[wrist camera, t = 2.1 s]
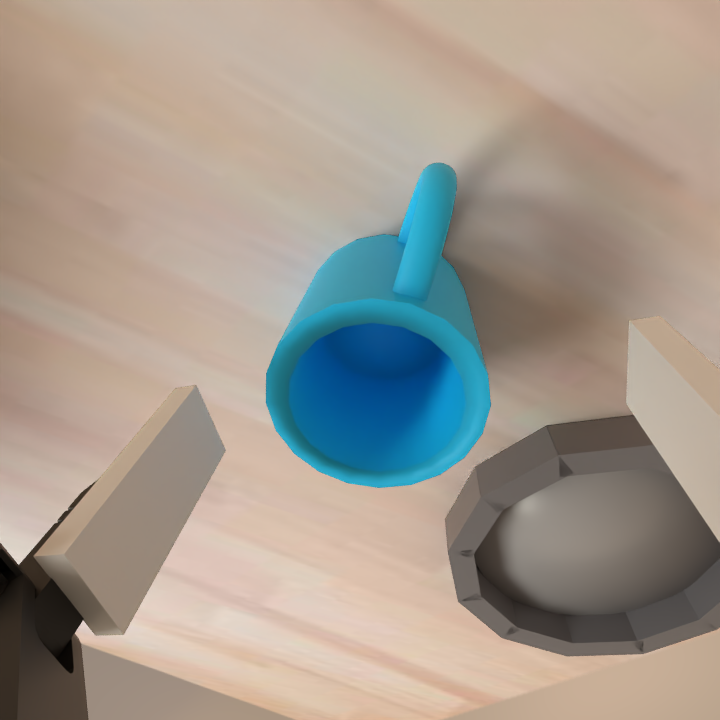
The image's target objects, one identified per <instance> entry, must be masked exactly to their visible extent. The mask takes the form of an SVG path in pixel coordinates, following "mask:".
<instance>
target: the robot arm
mask: <svg viewBox="0 0 720 720" xmlns="http://www.w3.org/2000/svg"><path fill="white" fill-rule="evenodd" d="M626 404H627V406H628V407H629V409H630V410H631V412H632V413H633V415H634V416H635V418H636V419H637V421H638V422H639V424H640V425H641V427H642V428H643V430H644V431H645V433H646V434H647V436H648V437H649V438H650V440H651V441H652V443H653V444H654V446H655V447H656V449H657V450H658V452H659V453H660V455H661V456H662V458H663V459H664V461H665V462H666V464H667V465H668V467H669V468H670V470H671V471H672V473H673V474H674V476H675V477H676V479H677V480H678V482H679V483H680V484H681V486H682V487H683V489H684V490H685V492H686V493H687V495H688V496H689V498H690V499H691V501H692V502H693V504H694V505H695V507H696V508H697V510H698V511H699V513H700V514H701V516H702V517H703V519H704V520H705V522H706V523H707V525H708V526H709V528H710V529H711V531H712V532H713V533H714V535H715V536H716V538H717V539H718V541H719V542H720V370H719V369H718V368H717V367H716V366H715V365H714V364H712V363H711V362H710V361H709V360H708V359H707V358H706V357H705V356H704V355H703V354H701V353H700V352H699V351H698V350H697V349H696V348H695V347H694V346H693V345H692V344H690V343H689V342H688V341H687V340H686V339H685V338H684V337H683V336H682V335H681V334H679V333H678V332H677V331H676V330H675V329H674V328H673V327H672V326H671V325H670V324H668V323H667V322H666V321H665V320H664V319H663V318H662V317H661V316H656V317H649V318H642V319H636V320H629V338H628V367H627V395H626ZM225 451H226V450H225V448H224V445H223V443H222V441H221V439H220V436H219V434H218V432H217V430H216V428H215V425H214V423H213V421H212V419H211V417H210V414H209V412H208V410H207V408H206V405H205V403H204V401H203V399H202V397H201V394H200V392H199V390H198V388H197V386H196V385H193V386H187V387H180V388H175V389H174V391H173V392H172V393H171V394H170V395H169V397H168V398H167V399H166V400H165V401H164V402H163V404H162V405H161V406H160V407H159V408H158V410H157V411H156V412H155V413H154V414H153V415H152V417H151V418H150V419H149V420H148V421H147V423H146V424H145V425H144V426H143V427H142V428H141V430H140V431H139V432H138V433H137V434H136V436H135V437H134V438H133V439H132V440H131V441H130V443H129V444H128V445H127V446H126V447H125V449H124V450H123V451H122V452H121V453H120V454H119V456H118V457H117V458H116V459H115V460H114V462H113V463H112V464H111V465H110V466H109V467H108V469H107V470H106V471H105V472H104V473H103V475H102V476H101V477H100V478H99V479H98V480H97V481H96V482H94V483H93V484H92V485H90V486H89V487H88V488H87V489H85V490H84V491H83V492H82V493H81V494H80V495H79V496H78V497H77V498H76V499H75V501H74V502H73V503H72V504H71V505H70V506H69V508H68V511H65V512H64V513H63V515H62V516H61V517H60V518H59V519H58V523H55V524H54V525H53V526H52V527H51V528H50V530H49V531H48V532H47V533H46V534H45V535H44V537H43V538H42V539H41V540H40V541H39V542H38V544H37V545H36V546H35V547H34V548H33V549H32V551H31V552H30V553H29V554H28V555H27V556H26V558H25V559H24V560H23V561H22V562H21V563H20V564H19V565H18V564H17V563H16V561H15V560H14V559H13V558H12V557H11V555H10V554H9V553H8V552H7V550H6V549H5V548H4V547H3V546H2V544H1V543H0V720H88V711H87V700H86V690H85V679H84V669H83V658H82V648H81V643H80V641H79V638H78V637H77V636H76V635H75V632H76V630H77V629H78V627H79V626H80V624H81V622H82V621H83V620H84V622H85V623H86V624H87V625H88V627H89V628H90V629H91V630H92V632H93V633H94V634H95V635H96V636H99V635H124V633H125V631H126V630H127V628H128V626H129V624H130V622H131V621H132V619H133V617H134V615H135V613H136V612H137V610H138V608H139V606H140V604H141V603H142V601H143V599H144V597H145V595H146V594H147V592H148V590H149V588H150V586H151V585H152V583H153V581H154V579H155V577H156V575H157V574H158V572H159V570H160V568H161V566H162V565H163V563H164V561H165V559H166V557H167V556H168V554H169V552H170V550H171V548H172V547H173V545H174V543H175V541H176V539H177V538H178V536H179V534H180V532H181V530H182V529H183V527H184V525H185V523H186V521H187V520H188V518H189V516H190V514H191V512H192V510H193V509H194V507H195V505H196V503H197V501H198V500H199V498H200V496H201V494H202V492H203V491H204V489H205V487H206V485H207V483H208V482H209V480H210V478H211V476H212V474H213V473H214V471H215V469H216V467H217V465H218V464H219V462H220V460H221V458H222V456H223V454H224V453H225Z"/></svg>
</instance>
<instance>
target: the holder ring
mask: <svg viewBox="0 0 720 720" xmlns="http://www.w3.org/2000/svg"><path fill="white" fill-rule="evenodd" d="M445 522H446V535H447V547H448V555H449V560H450V564H451V569H452V574H453V579H454V584H455V589H456V593H457V598H458V602H459V603H461V604H462V605H463V606H464V607H465V608H467V609H468V610H469V611H470V612H471V613H473V614H474V615H475V616H476V617H477V618H478V619H480V620H481V621H482V622H483V623H484V624H486V625H487V626H488V627H489V628H490V629H492V630H493V631H494V632H495V633H496V634H498V635H499V636H500V637H501V638H504V639H507V640H511V641H514V642H518V643H521V644H525V645H529V646H532V647H536V648H539V649H543V650H546V651H550V652H554V653H557V654H561V655H564V656H594V655H626V654H644V653H648V652H651V651H654V650H657V649H660V648H663V647H666V646H669V645H672V644H675V643H678V642H681V641H684V640H687V639H690V638H693V637H696V636H699V635H702V634H705V633H708V632H711V631H714V630H717V629H718V628H719V627H720V542H719V541H718V539H717V538H716V536H715V535H714V533H713V532H712V531H711V529H710V528H709V526H708V525H707V523H706V522H705V520H704V519H703V517H702V516H701V514H700V513H699V511H698V510H697V508H696V507H695V505H694V504H693V502H692V501H691V499H690V498H689V496H688V495H687V493H686V492H685V490H684V489H683V487H682V486H681V484H680V483H679V482H678V480H677V479H676V477H675V476H674V474H673V473H672V471H671V470H670V468H669V467H668V465H667V464H666V462H665V461H664V459H663V458H662V456H661V455H660V453H659V452H658V450H657V449H656V447H655V446H654V444H653V443H652V441H651V440H650V438H649V437H648V436H647V434H646V433H645V431H644V430H643V428H642V427H641V425H640V424H639V422H638V421H637V419H636V418H635V416H634V415H633V416H624V417H616V418H608V419H599V420H591V421H583V422H575V423H566V424H558V425H550V426H545V427H544V428H542V429H540V430H538V431H537V432H535V433H533V434H531V435H530V436H528V437H526V438H524V439H523V440H521V441H519V442H518V443H516V444H514V445H512V446H511V447H509V448H507V449H505V450H504V451H502V452H500V453H498V454H497V455H495V456H493V457H491V458H490V459H488V460H486V461H485V462H483V463H481V464H479V465H478V466H476V467H475V469H474V470H473V472H472V474H471V476H470V477H469V479H468V481H467V482H466V484H465V486H464V488H463V489H462V491H461V493H460V495H459V496H458V498H457V500H456V502H455V503H454V505H453V507H452V508H451V510H450V512H449V514H448V515H447V517H446V519H445Z"/></svg>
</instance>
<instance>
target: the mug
mask: <svg viewBox="0 0 720 720" xmlns="http://www.w3.org/2000/svg"><path fill="white" fill-rule="evenodd" d="M456 190H457V177H456V173H455V172H454V170H453V169H452V168H451V167H450V166H448V165H446V164H444V163H433V164H431V165H429V166H427V167H426V168H425V169H424V170H423V171H422V173H421V175H420V178H419V180H418V182H417V185H416V187H415V190H414V193H413V195H412V198H411V201H410V204H409V207H408V210H407V212H406V215H405V218H404V221H403V224H402V227H401V230H400V234H399V236H393V235H386V234H383V235H377V236H372V237H367V238H361V239H357V240H355V241H353V242H351V243H350V244H348V245H346V246H344V247H342V248H341V249H339V250H337V251H335V252H334V253H333V254H332V255H331V256H330V258H329V259H328V260H327V261H326V262H325V263H324V264H323V265H322V266H321V267H320V269H319V270H318V271H317V273H316V275H315V277H314V279H313V281H312V282H311V284H310V286H309V288H308V290H307V292H306V294H305V295H304V297H303V299H302V301H301V303H300V305H299V307H298V308H297V310H296V312H295V314H294V316H293V318H292V320H291V321H290V323H289V325H288V327H287V329H286V331H285V333H284V335H283V336H282V338H281V340H280V342H279V344H278V346H277V348H276V351H275V353H274V356H273V358H272V361H271V363H270V365H269V368H268V370H267V373H266V404H267V407H268V410H269V412H270V415H271V418H272V421H273V423H274V426H275V429H276V431H277V432H278V433H279V435H280V436H281V437H282V439H283V440H284V441H285V442H286V444H287V445H288V446H289V448H290V449H291V450H292V451H293V453H294V454H296V455H297V456H298V457H300V458H301V459H302V460H304V461H305V462H306V463H308V464H309V465H311V466H312V467H313V468H315V469H316V470H317V471H319V472H321V473H324V474H326V475H329V476H331V477H334V478H336V479H339V480H341V481H344V482H346V483H350V484H357V485H364V486H370V487H377V488H382V487H394V486H405V485H412V484H415V483H418V482H421V481H423V480H426V479H429V478H432V477H435V476H438V475H440V474H442V473H443V472H444V471H446V470H447V469H449V468H450V467H452V466H453V465H454V464H456V463H457V462H459V461H460V460H462V459H463V458H464V457H465V456H466V455H467V454H468V452H469V451H470V450H471V448H472V447H473V446H474V444H475V443H476V442H477V440H478V439H479V438H480V436H481V435H482V434H483V430H484V427H485V423H486V420H487V417H488V413H489V410H490V407H491V401H490V391H489V380H488V373H487V369H486V366H485V362H484V358H483V355H482V351H481V347H480V344H479V340H478V337H477V333H476V329H475V326H474V322H473V318H472V315H471V311H470V308H469V304H468V300H467V297H466V293H465V290H464V288H463V286H462V284H461V282H460V279H459V277H458V275H457V273H456V271H455V269H454V267H453V266H452V265H450V264H449V263H448V262H447V261H446V260H445V259H444V258H443V257H442V256H441V255H442V251H443V248H444V244H445V241H446V237H447V233H448V229H449V225H450V221H451V217H452V213H453V207H454V202H455V196H456Z"/></svg>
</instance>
